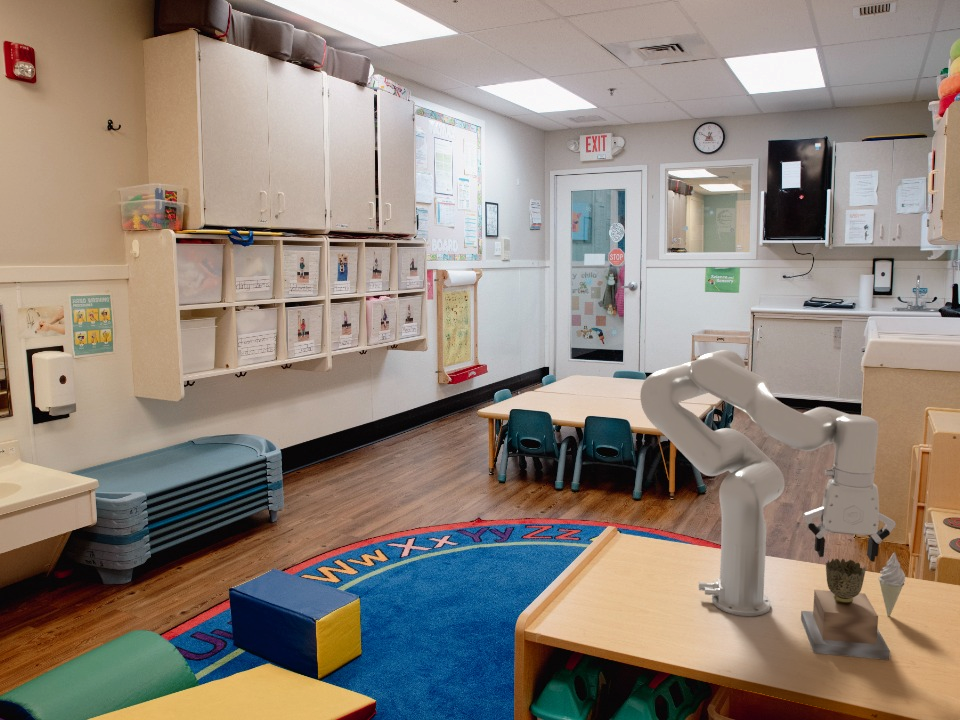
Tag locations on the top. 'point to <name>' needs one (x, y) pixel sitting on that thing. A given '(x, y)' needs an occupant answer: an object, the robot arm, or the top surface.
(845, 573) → the cup
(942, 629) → the top surface
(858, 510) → the robot arm
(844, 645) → the brown block on base
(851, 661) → the top surface
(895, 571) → the ice cream cone
